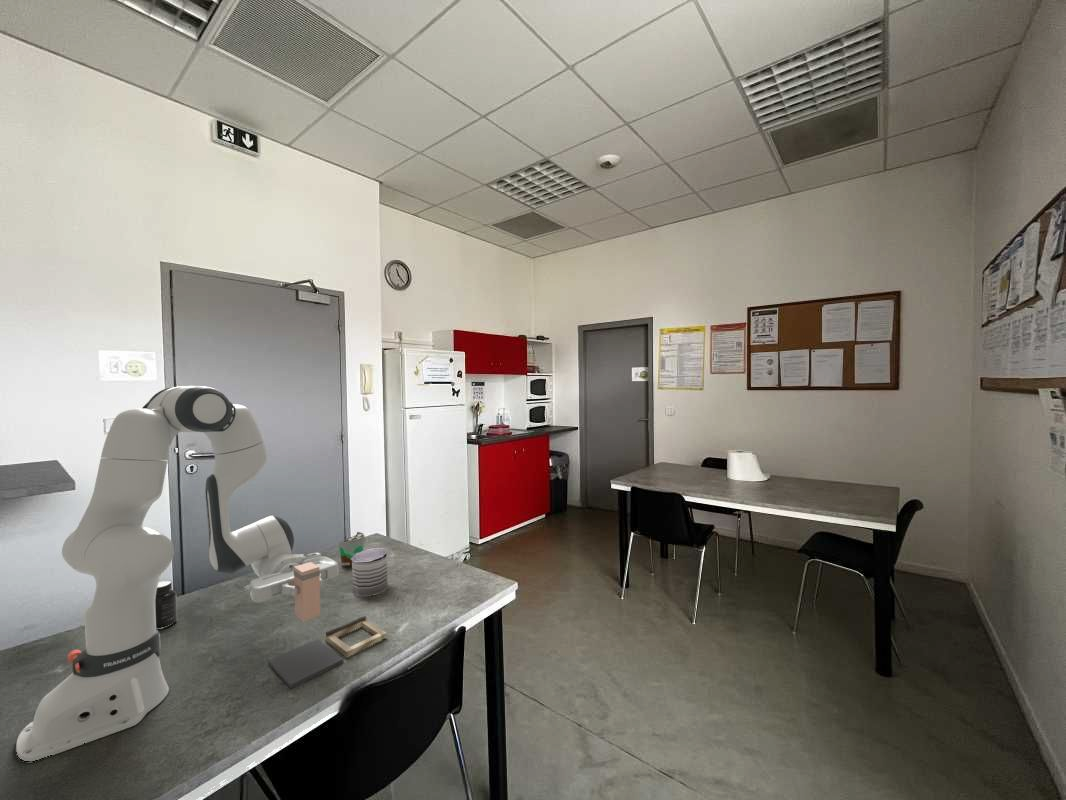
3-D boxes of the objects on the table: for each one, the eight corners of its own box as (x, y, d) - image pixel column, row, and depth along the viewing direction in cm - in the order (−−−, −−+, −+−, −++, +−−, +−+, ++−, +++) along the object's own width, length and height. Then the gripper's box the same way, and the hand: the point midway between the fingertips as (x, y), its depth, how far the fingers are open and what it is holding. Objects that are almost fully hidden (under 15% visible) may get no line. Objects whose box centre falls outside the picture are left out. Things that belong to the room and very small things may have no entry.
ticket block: (303, 622, 106) (302, 572, 106) (294, 615, 109) (293, 566, 109) (321, 615, 109) (319, 566, 109) (312, 608, 112) (310, 561, 112)
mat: (290, 688, 100) (290, 684, 100) (268, 663, 109) (267, 660, 109) (342, 662, 109) (342, 659, 109) (317, 641, 118) (317, 638, 118)
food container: (354, 569, 165) (353, 543, 164) (339, 568, 166) (338, 542, 165) (372, 557, 177) (371, 532, 176) (358, 556, 178) (357, 531, 177)
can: (381, 596, 143) (380, 559, 143) (346, 597, 143) (345, 560, 143) (392, 580, 154) (391, 546, 154) (360, 581, 154) (359, 547, 154)
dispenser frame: (346, 658, 111) (346, 648, 111) (325, 640, 119) (325, 631, 118) (386, 638, 119) (386, 629, 119) (364, 623, 127) (363, 614, 127)
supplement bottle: (140, 630, 126) (138, 588, 125) (165, 617, 132) (163, 577, 132) (159, 632, 124) (157, 590, 124) (183, 620, 131) (181, 579, 130)
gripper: (240, 573, 110) (260, 590, 101) (324, 550, 125) (348, 562, 116) (241, 599, 110) (261, 617, 101) (325, 572, 125) (348, 586, 116)
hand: (308, 587), depth 108 cm, fingers closed on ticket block, 4 cm apart
